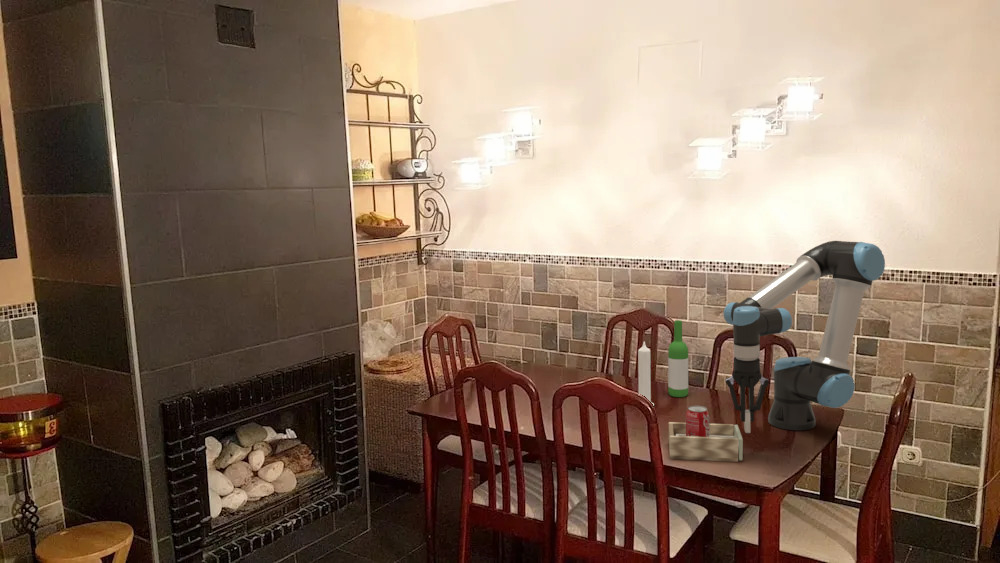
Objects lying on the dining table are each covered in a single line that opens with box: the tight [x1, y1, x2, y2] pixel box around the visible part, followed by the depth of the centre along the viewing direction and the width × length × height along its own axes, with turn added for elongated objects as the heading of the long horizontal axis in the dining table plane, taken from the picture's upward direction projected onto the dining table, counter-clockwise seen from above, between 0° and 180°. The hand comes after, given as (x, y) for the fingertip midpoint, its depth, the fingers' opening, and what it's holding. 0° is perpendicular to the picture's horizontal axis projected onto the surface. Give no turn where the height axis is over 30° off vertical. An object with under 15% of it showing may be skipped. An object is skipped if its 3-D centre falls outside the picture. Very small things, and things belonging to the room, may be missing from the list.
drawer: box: [676, 424, 744, 461], centre depth 222 cm, size 19×13×7 cm
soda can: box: [685, 405, 710, 437], centre depth 222 cm, size 7×7×12 cm
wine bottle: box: [667, 319, 689, 398], centre depth 281 cm, size 8×8×30 cm
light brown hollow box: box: [668, 421, 739, 463], centre depth 223 cm, size 20×14×7 cm
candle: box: [637, 341, 655, 407], centre depth 269 cm, size 7×7×25 cm
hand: (747, 431), depth 220 cm, fingers closed
